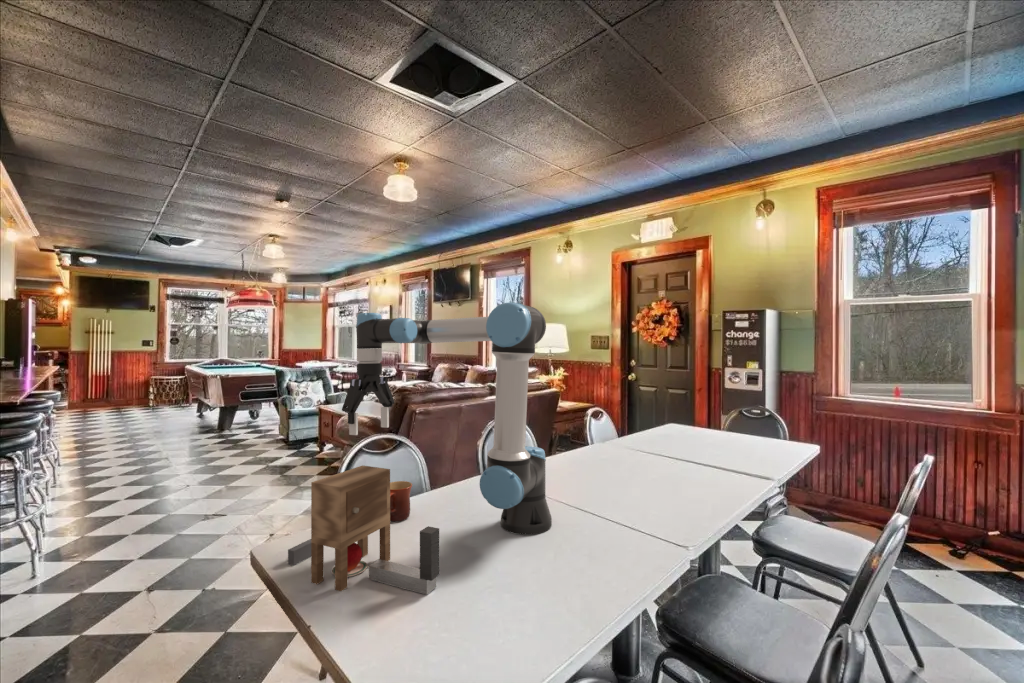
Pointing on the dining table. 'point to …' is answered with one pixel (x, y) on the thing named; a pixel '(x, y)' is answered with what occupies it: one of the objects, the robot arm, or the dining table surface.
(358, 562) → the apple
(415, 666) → the dining table surface
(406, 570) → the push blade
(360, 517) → the cabinet
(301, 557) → the block
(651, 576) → the dining table surface
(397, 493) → the mug
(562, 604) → the dining table surface
